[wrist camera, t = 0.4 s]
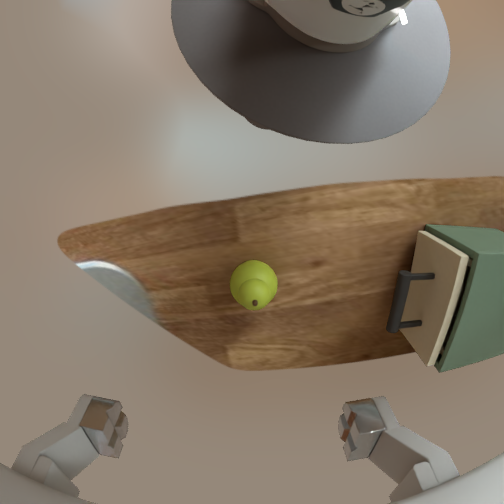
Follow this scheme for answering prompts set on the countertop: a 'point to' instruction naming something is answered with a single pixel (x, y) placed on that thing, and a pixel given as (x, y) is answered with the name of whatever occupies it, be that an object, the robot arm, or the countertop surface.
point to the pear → (253, 284)
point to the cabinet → (476, 297)
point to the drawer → (429, 296)
